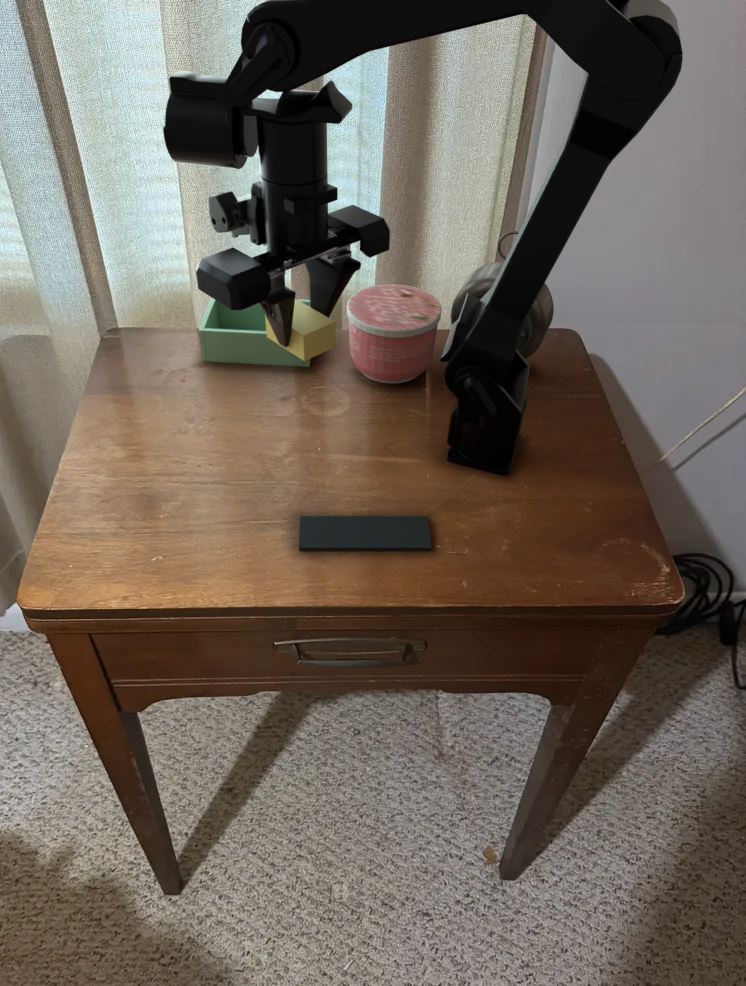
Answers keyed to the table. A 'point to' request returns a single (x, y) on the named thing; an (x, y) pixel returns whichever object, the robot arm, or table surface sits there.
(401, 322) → the container
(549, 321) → the alarm clock
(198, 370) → the table surface
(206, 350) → the storage box
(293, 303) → the robot arm
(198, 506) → the table surface
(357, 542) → the desk mat
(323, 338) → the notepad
